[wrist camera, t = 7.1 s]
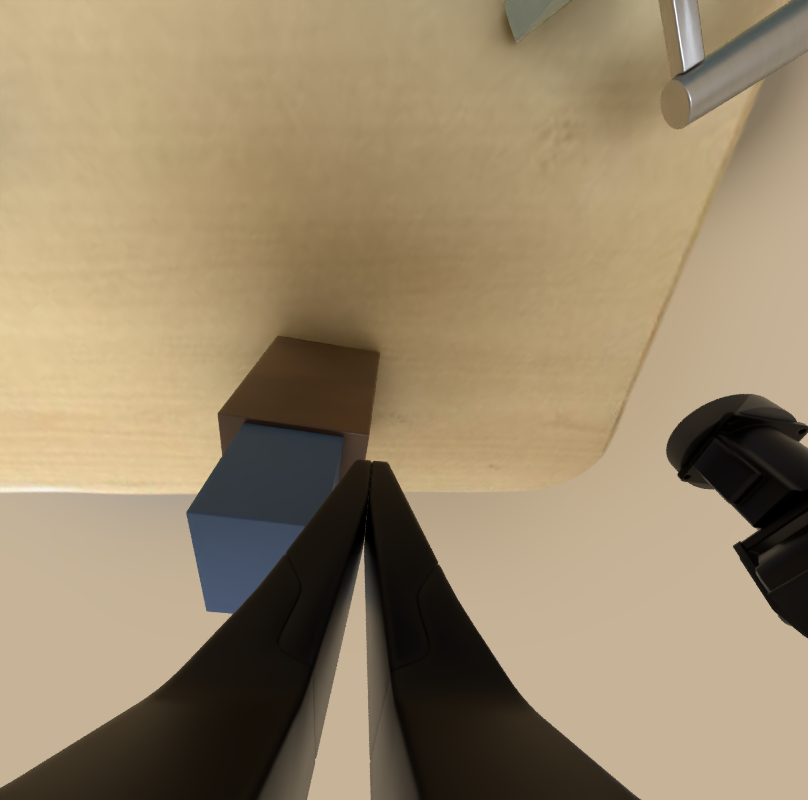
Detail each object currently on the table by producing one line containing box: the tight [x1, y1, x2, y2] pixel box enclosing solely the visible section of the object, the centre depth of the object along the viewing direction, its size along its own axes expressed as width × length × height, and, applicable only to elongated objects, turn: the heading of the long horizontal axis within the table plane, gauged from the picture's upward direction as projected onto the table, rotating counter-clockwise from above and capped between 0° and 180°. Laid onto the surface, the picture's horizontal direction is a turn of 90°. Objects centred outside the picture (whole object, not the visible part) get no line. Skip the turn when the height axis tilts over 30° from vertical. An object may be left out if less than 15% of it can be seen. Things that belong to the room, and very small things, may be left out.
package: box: [187, 423, 344, 614], centre depth 14 cm, size 4×6×4 cm
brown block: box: [218, 336, 380, 482], centre depth 19 cm, size 6×6×8 cm
